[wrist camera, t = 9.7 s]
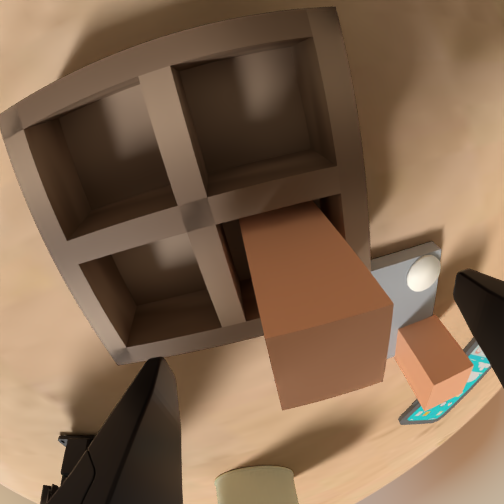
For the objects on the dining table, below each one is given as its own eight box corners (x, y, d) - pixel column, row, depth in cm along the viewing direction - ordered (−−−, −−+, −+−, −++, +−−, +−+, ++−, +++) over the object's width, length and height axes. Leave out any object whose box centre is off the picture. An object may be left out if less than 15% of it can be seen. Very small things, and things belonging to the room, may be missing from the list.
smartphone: (523, 330, 24) (438, 423, 30) (518, 324, 25) (435, 417, 30) (495, 316, 21) (394, 426, 27) (489, 310, 22) (391, 419, 28)
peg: (311, 250, 15) (382, 381, 8) (249, 264, 15) (282, 410, 8) (303, 190, 14) (393, 303, 7) (235, 205, 14) (265, 338, 7)
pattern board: (422, 335, 21) (461, 393, 16) (321, 371, 21) (346, 441, 16) (435, 240, 17) (497, 296, 12) (308, 277, 17) (346, 358, 12)
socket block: (340, 259, 17) (371, 304, 13) (131, 312, 17) (118, 365, 13) (301, 26, 11) (335, 6, 8) (45, 105, 11) (-4, 116, 8)
